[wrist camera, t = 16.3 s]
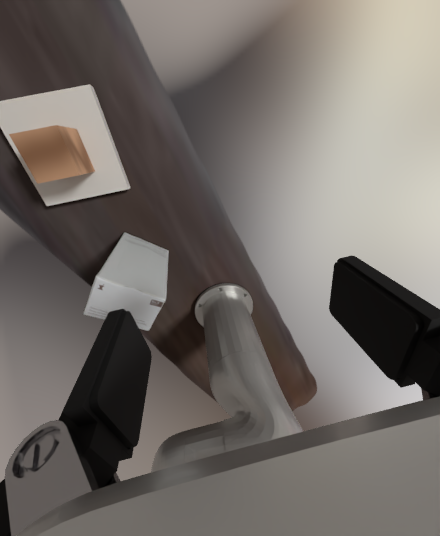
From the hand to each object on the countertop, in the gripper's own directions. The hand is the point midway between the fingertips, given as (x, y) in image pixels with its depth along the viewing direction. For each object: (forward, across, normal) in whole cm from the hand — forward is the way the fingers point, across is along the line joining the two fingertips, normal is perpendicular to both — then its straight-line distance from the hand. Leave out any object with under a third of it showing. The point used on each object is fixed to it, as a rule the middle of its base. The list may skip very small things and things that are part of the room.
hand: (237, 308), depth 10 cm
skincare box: (+28, +12, +8) cm, 32 cm away
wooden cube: (+27, +16, -9) cm, 33 cm away
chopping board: (+28, +16, -9) cm, 34 cm away
